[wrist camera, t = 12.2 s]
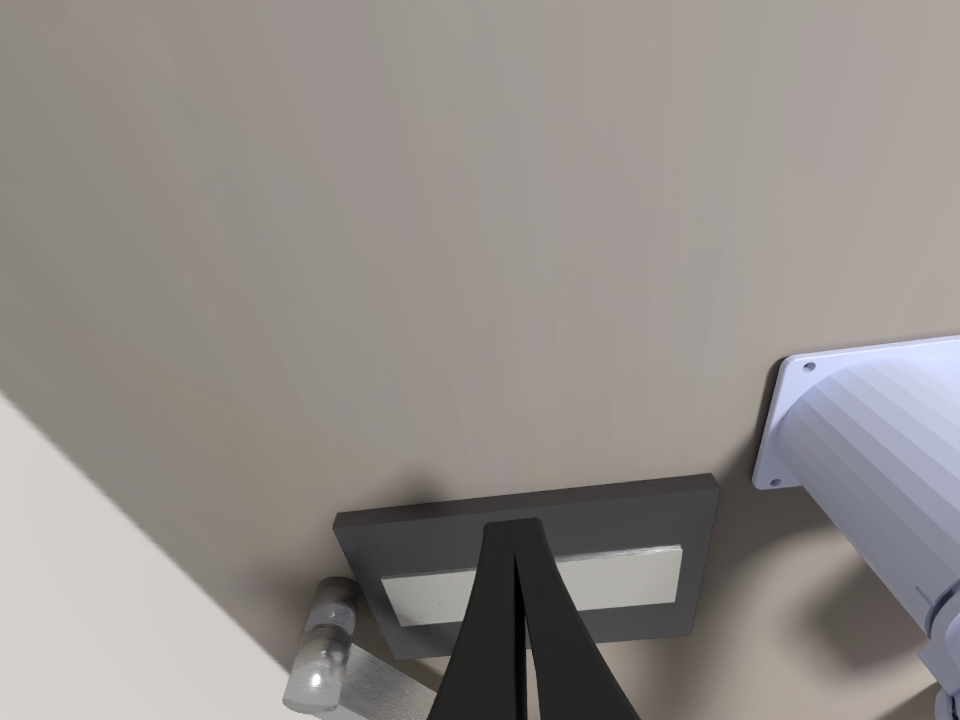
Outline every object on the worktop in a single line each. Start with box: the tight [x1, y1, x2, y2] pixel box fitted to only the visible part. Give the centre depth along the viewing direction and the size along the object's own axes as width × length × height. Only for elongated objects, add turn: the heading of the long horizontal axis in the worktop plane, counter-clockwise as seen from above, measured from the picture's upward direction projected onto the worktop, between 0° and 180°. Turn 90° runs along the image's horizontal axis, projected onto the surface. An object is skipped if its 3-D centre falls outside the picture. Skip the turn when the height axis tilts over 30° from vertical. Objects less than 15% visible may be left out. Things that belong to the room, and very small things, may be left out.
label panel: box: [304, 473, 720, 660], centre depth 26 cm, size 23×14×3 cm, turn 98°
